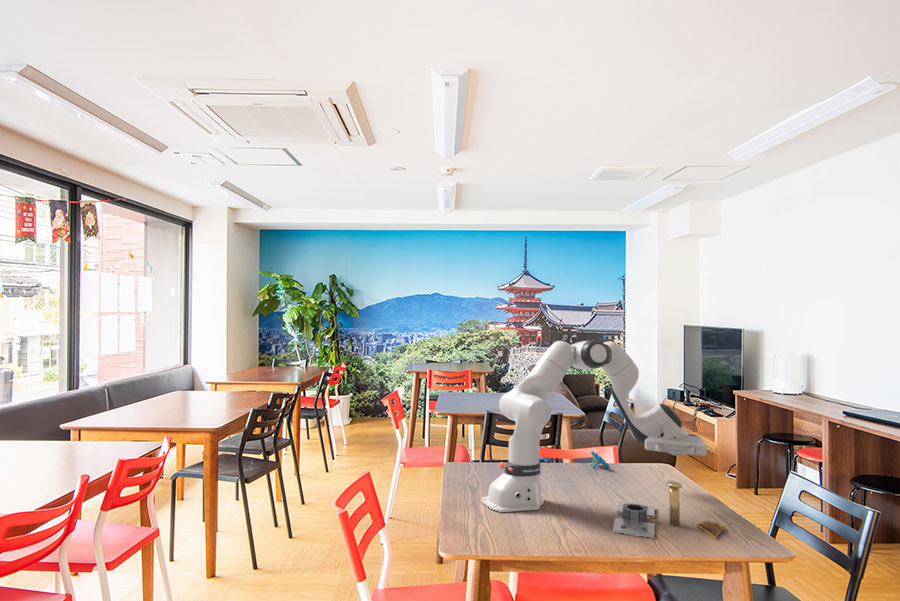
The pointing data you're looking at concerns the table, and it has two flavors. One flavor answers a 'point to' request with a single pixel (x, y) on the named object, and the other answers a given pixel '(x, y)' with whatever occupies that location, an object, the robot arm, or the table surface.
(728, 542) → the table surface
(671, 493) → the hinge pin
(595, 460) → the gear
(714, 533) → the shard
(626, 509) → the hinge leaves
